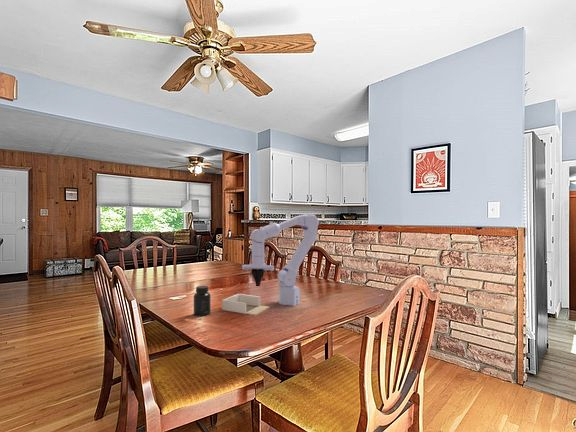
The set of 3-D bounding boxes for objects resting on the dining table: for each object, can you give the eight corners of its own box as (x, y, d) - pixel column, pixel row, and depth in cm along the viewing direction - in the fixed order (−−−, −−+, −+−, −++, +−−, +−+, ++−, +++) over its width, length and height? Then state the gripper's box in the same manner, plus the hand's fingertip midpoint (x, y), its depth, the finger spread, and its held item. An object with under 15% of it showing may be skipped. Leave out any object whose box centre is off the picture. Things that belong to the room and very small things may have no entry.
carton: (260, 307, 140) (260, 296, 140) (245, 315, 129) (245, 303, 129) (238, 304, 145) (238, 293, 145) (222, 311, 135) (222, 299, 135)
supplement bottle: (190, 315, 129) (190, 286, 129) (205, 312, 134) (205, 284, 134) (198, 319, 124) (198, 289, 124) (213, 315, 129) (213, 286, 129)
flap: (261, 307, 140) (269, 308, 138) (247, 314, 129) (255, 315, 127) (261, 305, 140) (269, 306, 138) (246, 313, 129) (255, 313, 127)
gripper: (275, 255, 143) (275, 284, 144) (245, 254, 146) (245, 283, 147) (271, 257, 137) (271, 288, 137) (240, 256, 140) (240, 286, 140)
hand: (258, 285), depth 141 cm, fingers closed
